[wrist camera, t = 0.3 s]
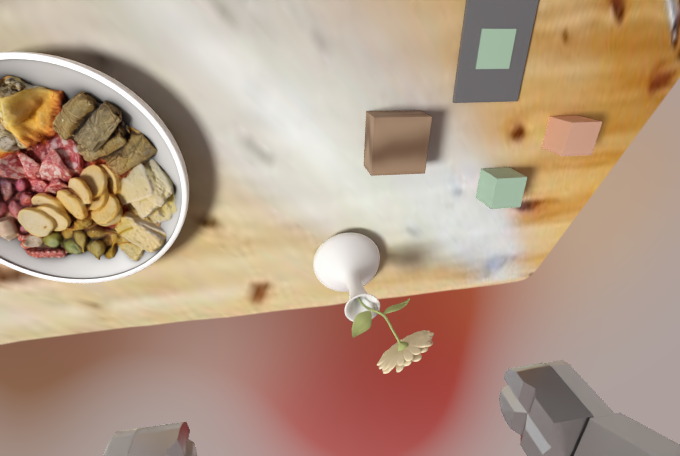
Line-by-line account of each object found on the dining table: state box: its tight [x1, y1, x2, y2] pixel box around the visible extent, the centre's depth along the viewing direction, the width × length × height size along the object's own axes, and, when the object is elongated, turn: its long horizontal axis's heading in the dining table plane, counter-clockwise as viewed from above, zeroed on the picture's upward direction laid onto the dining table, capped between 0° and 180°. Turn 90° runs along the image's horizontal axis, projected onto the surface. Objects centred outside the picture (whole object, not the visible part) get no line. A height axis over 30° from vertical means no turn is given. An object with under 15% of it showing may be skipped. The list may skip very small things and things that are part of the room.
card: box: [453, 0, 539, 103], centre depth 51 cm, size 14×10×1 cm
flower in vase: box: [313, 232, 434, 374], centre depth 52 cm, size 13×11×25 cm
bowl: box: [0, 52, 189, 283], centre depth 47 cm, size 30×30×8 cm
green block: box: [476, 167, 527, 209], centre depth 59 cm, size 5×5×5 cm
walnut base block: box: [364, 111, 432, 176], centre depth 53 cm, size 8×8×5 cm
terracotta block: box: [542, 115, 602, 156], centre depth 57 cm, size 5×5×5 cm
